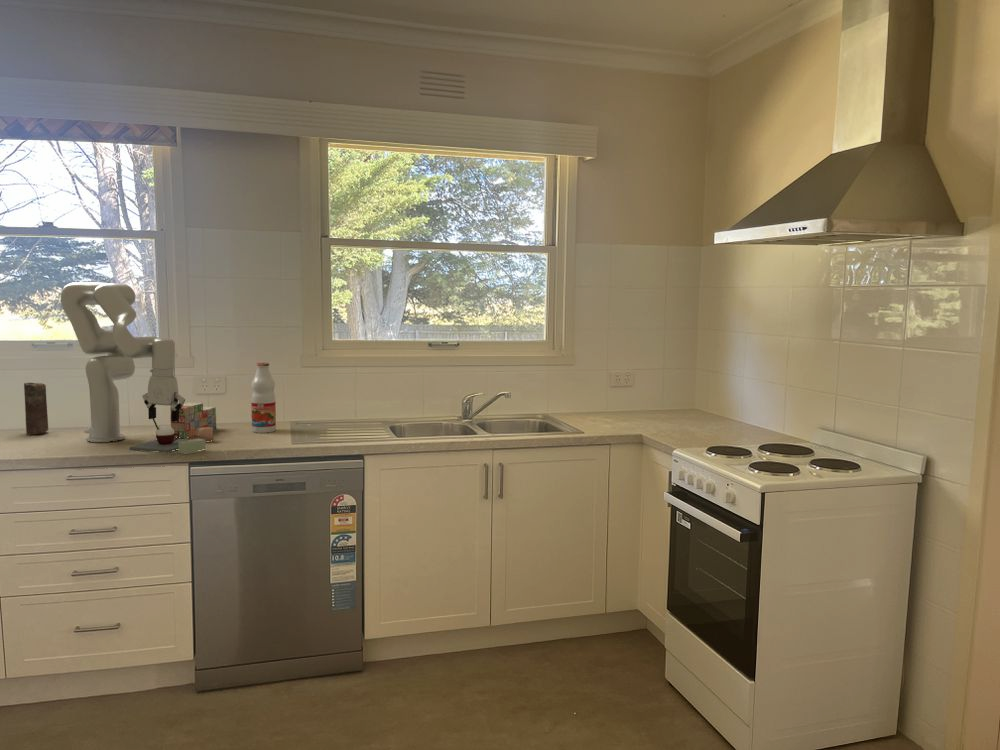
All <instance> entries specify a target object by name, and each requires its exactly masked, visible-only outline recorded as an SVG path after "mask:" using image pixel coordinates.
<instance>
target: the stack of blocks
mask: <svg viewBox="0 0 1000 750" xmlns="http://www.w3.org/2000/svg"><path fill="white" fill-rule="evenodd" d="M216 408H217V407H216V406H215V407H214V406H204V403H202V402H187V403H185V402H184V404H183V406H182V407H181V409H180V410H179V420H178V421H175V422H172V421H171V420H170V427H171V428H173V430H174V433H175V434H179V437H180V438H179V439H181V438H186V439H188V438H187V437H190V438H192V437H191V436H193V437H195V436H194V435H196V436H198V435H197V434H198V428H201V427H212V428H213V429H215V430H217V412H216ZM169 411H170V413H171V412H172V411H173V409H172V408H171V406H170V410H169ZM175 437H178V435H175Z"/></svg>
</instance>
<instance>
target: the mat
mask: <svg viewBox="0 0 1000 750" xmlns="http://www.w3.org/2000/svg"><path fill="white" fill-rule="evenodd" d="M175 439H176V438H174V440H175ZM187 440H188V438H186V439H181V438H178V439H177V440H176V441H174V442H172V443H171V444H166V445H162V444H160V443H158V441H157V439H154V440H150V441H147V442H144V443H140V444H136V445H132V446H129V447H128V448H129V451H138V450H142V451H141V452H150V451H159V452H158V453H162V452H167V453H166V454H169V453H168V452H170V451H172V450H176V449H179V448H178V442H181V441H187ZM170 453H171V452H170Z"/></svg>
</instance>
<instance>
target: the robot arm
mask: <svg viewBox="0 0 1000 750" xmlns="http://www.w3.org/2000/svg"><path fill="white" fill-rule="evenodd" d="M135 302H136V292H135V291H134V289H133V288H132V287H131V286H130V285H128V284H126V283H111V282H109V283H108V282H93V281H92V282H91V281H90V282H88V281H85V282H84V281H79V282H78V281H74V282H70V283H68V284H66V285H64V287H62V290H61V293H60V303H61V307H62V310H63V312H64V314H65V315H66V317H67V318H68V320H69V322H70V324H71V326H72V329H73V331H74V334H75V336H76V339H77V342H78V343H79V346H80V348H81V351H82V352H83V353H85V355H90V356H92V355H93V356H94V357H93V358H90V359H89V360H88V361H87V362H86V364H85V367H84V368H85V374H86V378H87V382H88V383H87V384H88V389H89V404H90V405H89V406H90V407H89V408H90V424H91V425H90V426H91V427H87V428H86V429H84V430H83V431H84V432H83V433H84V434H89V435H88V436H87V437H86V441H87V442H89V441H90V442H91V443H110V441H113V442H118V440H119V441H122V440H124V439H125V438H126V435H125V434H123V433H121V422H120V396H119V390H118V388H117V386H116V385H115V383H114V381H121V380H126V379H129V378H131V377H132V376H133V375H134V373H135V370H136V367H135V366H136V365H135V361H134V359H142V358H145V359H146V358H151V368H150V369H149V371H150V373H151V376H149V380H148V384H147V393H145V394H143V395H142V399H143V401H144V404H145V405H146V408H147V409H148V410H147V411H148V419H149V420H153V419H152V417H151V414H150V411H151V413H152V415H153V417H154V419H156V418H157V407H156V405H158V406H170V407H171V408H172V409H173V411H172V412H171V411H170V422H171V421H172V422H175V421H178V420H179V410H180V409H181V407H182V406H183V404H185V402H186V398H185V397H183V396H181V395H180V394H179V385H178V380H177V377H176V364H175V363H176V350H175V349H176V342H175V340H173V339H172V338H161V337H158V336H136V337H135V336H133V334H132V333H131V332H130V330H129V329H128V327H127V326H130V325H131V324H132V323H133V322H134V321H135V320H136V317H137V312H136V311H135V309H134V308H133V307H132V305H133V304H134V303H135ZM87 306H99V307H100V308H101V309H102V310H103V312H104V314H105V315H106V316H107V317H108V319H109V320H110V321H111V322H112V324H113V326H112V328H102V327H101V326H100V324H99V322H98V319H97V316H96V315H95V314H94V313H93V311H91V310H90V309H88V308H87ZM97 355H99V356H97ZM101 355H102V356H101Z"/></svg>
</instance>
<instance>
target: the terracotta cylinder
mask: <svg viewBox="0 0 1000 750" xmlns="http://www.w3.org/2000/svg"><path fill="white" fill-rule="evenodd" d="M213 432H214V430H213V428H212V427H201V428H198V435H197V436H198V438H199V439H204V440H206V441H211V440H213V441H214V437H213V436H214V433H213Z"/></svg>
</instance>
